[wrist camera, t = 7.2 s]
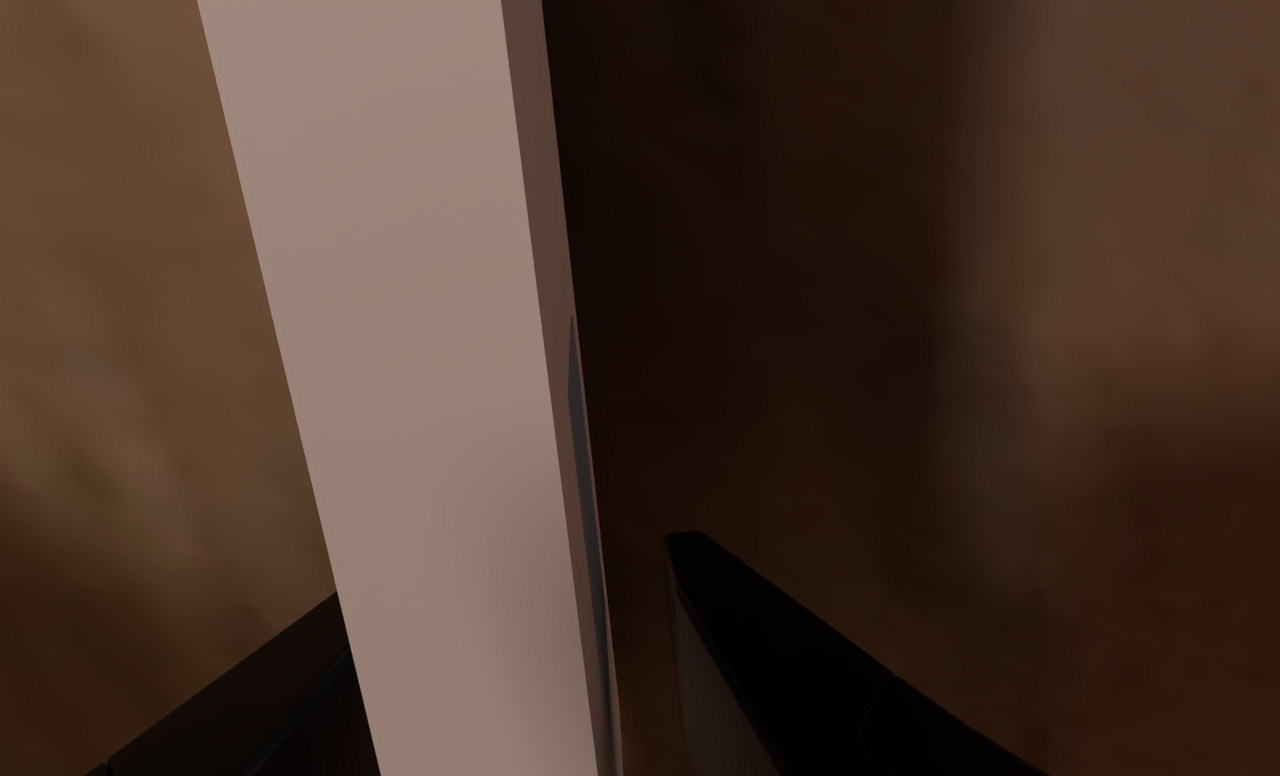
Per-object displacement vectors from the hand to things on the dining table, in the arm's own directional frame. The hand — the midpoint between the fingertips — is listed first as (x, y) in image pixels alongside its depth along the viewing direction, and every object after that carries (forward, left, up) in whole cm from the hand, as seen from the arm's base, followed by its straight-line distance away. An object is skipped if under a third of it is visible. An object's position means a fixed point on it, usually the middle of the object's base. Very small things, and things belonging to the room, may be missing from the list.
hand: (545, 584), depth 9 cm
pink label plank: (+9, 0, -1) cm, 9 cm away
